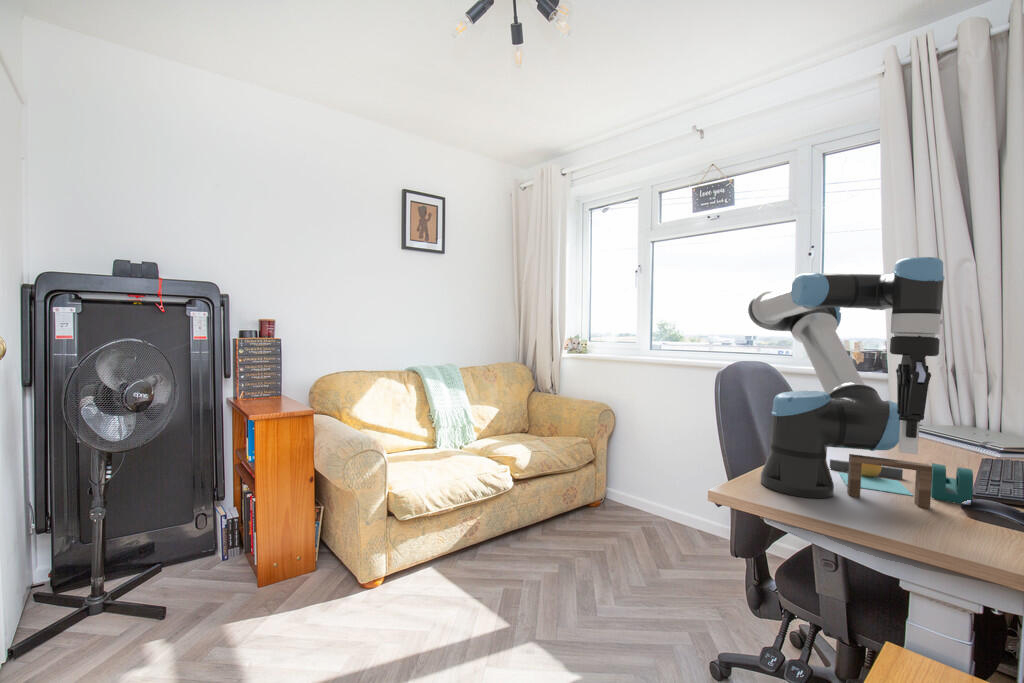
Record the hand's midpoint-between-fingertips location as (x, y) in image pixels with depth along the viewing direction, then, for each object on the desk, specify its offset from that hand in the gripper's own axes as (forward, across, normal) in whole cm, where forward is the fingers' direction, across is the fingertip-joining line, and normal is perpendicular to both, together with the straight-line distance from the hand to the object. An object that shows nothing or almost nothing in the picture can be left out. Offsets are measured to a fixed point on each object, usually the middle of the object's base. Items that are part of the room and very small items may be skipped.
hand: (907, 452), depth 95 cm
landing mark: (+14, +28, 0) cm, 31 cm away
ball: (+11, +35, 0) cm, 37 cm away
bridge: (+14, +14, 0) cm, 20 cm away
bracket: (+14, +30, -15) cm, 37 cm away
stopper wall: (+14, +38, 0) cm, 41 cm away
